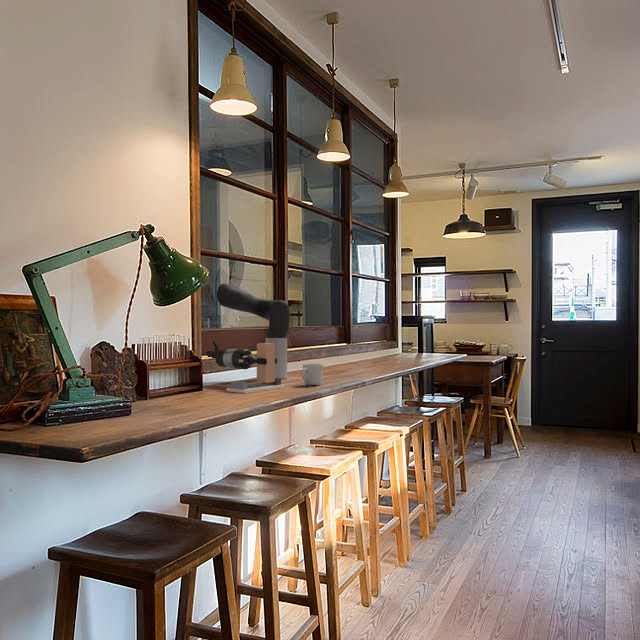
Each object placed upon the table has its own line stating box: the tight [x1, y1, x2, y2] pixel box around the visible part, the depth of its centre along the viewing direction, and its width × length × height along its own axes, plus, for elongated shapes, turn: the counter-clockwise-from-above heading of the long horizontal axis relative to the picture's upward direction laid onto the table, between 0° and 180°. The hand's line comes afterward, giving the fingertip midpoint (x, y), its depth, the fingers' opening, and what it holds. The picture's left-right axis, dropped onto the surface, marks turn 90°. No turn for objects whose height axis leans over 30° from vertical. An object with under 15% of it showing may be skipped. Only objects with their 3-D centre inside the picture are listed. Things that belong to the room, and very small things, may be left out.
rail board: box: [226, 378, 286, 394], centre depth 216 cm, size 21×9×4 cm, turn 143°
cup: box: [301, 363, 324, 386], centre depth 230 cm, size 11×8×8 cm
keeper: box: [256, 342, 275, 383], centre depth 220 cm, size 5×4×14 cm
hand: (271, 361), depth 218 cm, fingers closed on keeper, 5 cm apart
